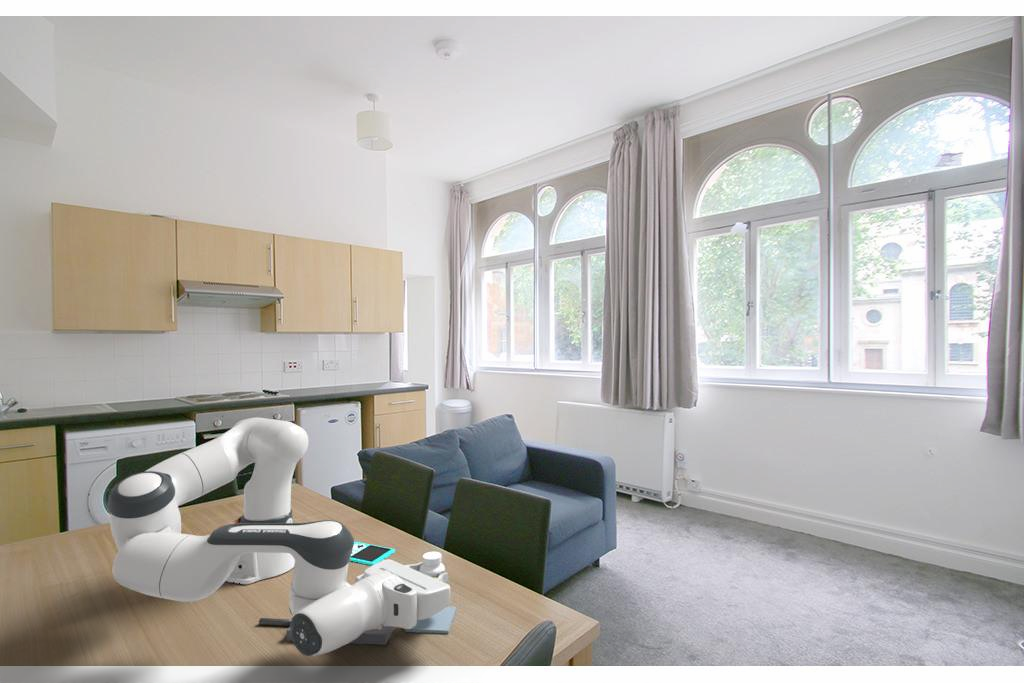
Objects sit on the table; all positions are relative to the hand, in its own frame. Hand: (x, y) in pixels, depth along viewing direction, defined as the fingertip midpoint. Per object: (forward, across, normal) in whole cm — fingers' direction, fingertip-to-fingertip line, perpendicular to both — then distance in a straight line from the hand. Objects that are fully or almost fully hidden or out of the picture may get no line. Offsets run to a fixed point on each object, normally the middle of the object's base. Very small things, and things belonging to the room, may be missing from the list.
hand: (435, 570), depth 103 cm
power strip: (-16, -16, -10) cm, 25 cm away
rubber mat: (-1, 0, -10) cm, 10 cm away
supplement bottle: (-1, 0, -6) cm, 6 cm away
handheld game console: (+10, -40, -11) cm, 43 cm away
